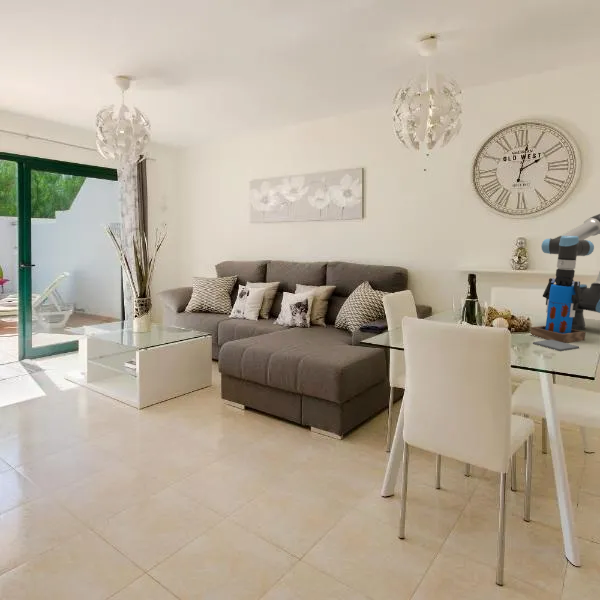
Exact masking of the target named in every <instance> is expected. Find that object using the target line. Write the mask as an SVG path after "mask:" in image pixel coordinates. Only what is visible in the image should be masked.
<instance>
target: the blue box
mask: <svg viewBox="0 0 600 600" xmlns="http://www.w3.org/2000/svg"><path fill="white" fill-rule="evenodd" d="M572 295H575V290H574V286H570V287H566V286H560V285H556V283H554V284H551V287H550V294H549V303H548V311H547V312H546V313H547V314H546V320H545V321H546V322H545V326H546V328H545V330H548V331H552V332H557V333H561V334H566V333H571V328H572V320H573V317H569V316H570V308H571V303H573V302H572V299H571V298H572Z"/></svg>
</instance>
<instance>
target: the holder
mask: <svg viewBox="0 0 600 600" xmlns="http://www.w3.org/2000/svg"><path fill="white" fill-rule="evenodd" d="M545 328H546V325H538V326H532V327H530V334H532V335H535V336H538V337H537V338H539V337H541V338H540V339H543V338H544V340H547V339H548V340H555V341H559V342H563V343H567V342H569V343H574V342H575V341H576V342H581V340H582V341H585V340H586V331H582V330H578V329H571V333H566V334H561V333H557V332H552V331H548V330H545ZM530 334H529V335H530ZM532 335H531V336H532ZM535 336H534V337H535ZM576 342H575V343H576ZM567 344H568V343H567Z"/></svg>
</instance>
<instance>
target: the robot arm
mask: <svg viewBox="0 0 600 600" xmlns="http://www.w3.org/2000/svg"><path fill="white" fill-rule="evenodd" d="M598 235H600V213H599V214H596V215H592V216H591V217H588V218H586V219H585V221H584V222H583V223H582V224H580V225H578V226H576V227H574V228H572V229H570V230H567V232H565V233H563V234H562V233H561V235H558V236H557V237H554V238H545V239H544V240H543V241H542V243H541V251H542V252H543V253H544V254H550V255H558V256H557V263H556V268H557V269H556V270H555V278H554V277H551V278H549V279H548V284H547V285H546V288H545V290H544V292H543V294H542V298H545V306H546V309H545V310H546V311H545V312H546V313H547V311H548V303H549V294H550V287H551V284H556V285H560V286H566V287H570V286H574V290H575V295H572V298H571V299H572V302H573V303H571V308H570V316H569V317H573V320H572V328H571V329H574V330H579V331H581V330H586V321H585V317H584V311H589V312H594V313H598V314H600V271H598V275H597V278H596V281H594V282H591V284H590V287H588V285H587V284H584V283H583V284H581V281H579V280H578V281H575V280H574V277H575V271H576V270H575V269H576V265H577V264H576V262H577V257H587V256H590V255H591V254H592V253H593V252H594V250H595V246H594V243H593V241H590V240H587V239H588V238H590V237H593V236H598Z"/></svg>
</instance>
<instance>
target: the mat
mask: <svg viewBox="0 0 600 600" xmlns="http://www.w3.org/2000/svg"><path fill="white" fill-rule="evenodd" d="M532 344H533V345H536V344H537V345H536V346H539V345H540V347H543V346H544V347H543V348H547V347H548V348H547V349H550V348H551V349H550V350H554V349H555V351H557V352H564V350H565V351H569V350H570V351H571V350H576V349H580V346H578V345H575V344H571V343H563V342H559V341H555V340H547V339H544V340H539V341H538V340H537V341H533V342H532Z"/></svg>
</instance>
